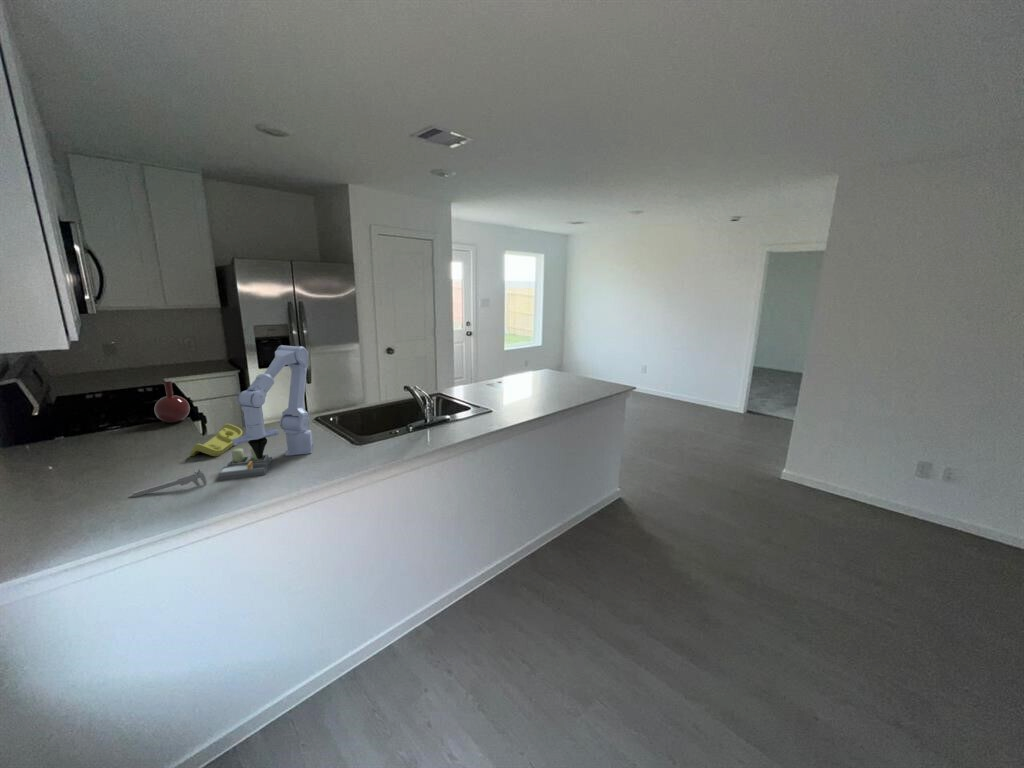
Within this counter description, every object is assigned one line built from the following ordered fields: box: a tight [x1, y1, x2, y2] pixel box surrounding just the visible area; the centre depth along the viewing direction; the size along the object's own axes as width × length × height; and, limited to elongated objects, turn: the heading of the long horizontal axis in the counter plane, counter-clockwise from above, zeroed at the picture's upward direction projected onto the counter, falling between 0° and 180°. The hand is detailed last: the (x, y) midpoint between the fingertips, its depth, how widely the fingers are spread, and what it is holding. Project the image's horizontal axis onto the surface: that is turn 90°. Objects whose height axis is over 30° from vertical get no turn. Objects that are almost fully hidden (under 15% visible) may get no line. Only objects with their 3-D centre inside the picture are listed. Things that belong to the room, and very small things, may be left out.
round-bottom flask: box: [153, 380, 191, 423], centre depth 192 cm, size 13×13×20 cm
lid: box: [222, 461, 253, 472], centre depth 144 cm, size 9×4×3 cm, turn 110°
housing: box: [218, 447, 273, 480], centre depth 148 cm, size 14×13×7 cm
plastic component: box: [189, 423, 243, 457], centre depth 167 cm, size 20×7×10 cm
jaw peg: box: [231, 447, 245, 463], centre depth 150 cm, size 4×4×6 cm
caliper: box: [128, 468, 208, 498], centre depth 132 cm, size 20×1×6 cm, turn 117°
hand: (259, 457), depth 146 cm, fingers closed
